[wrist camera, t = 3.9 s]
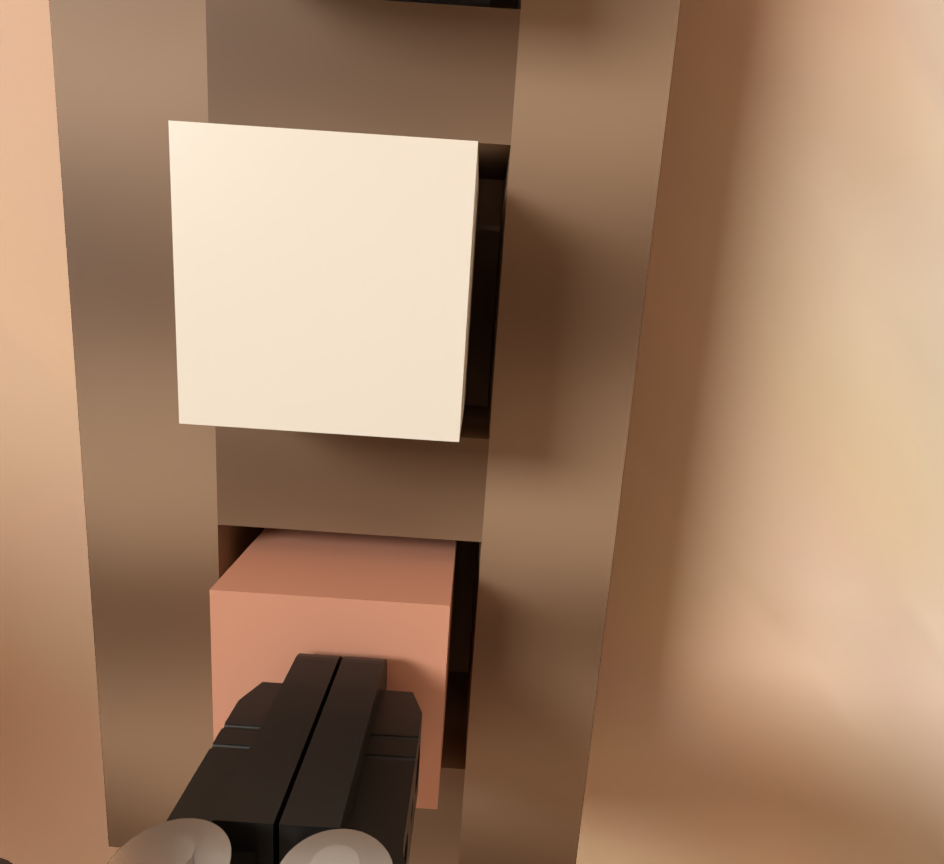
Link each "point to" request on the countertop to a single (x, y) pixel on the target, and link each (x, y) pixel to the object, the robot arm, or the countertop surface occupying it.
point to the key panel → (367, 457)
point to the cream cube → (322, 279)
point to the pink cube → (339, 620)
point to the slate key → (453, 2)
